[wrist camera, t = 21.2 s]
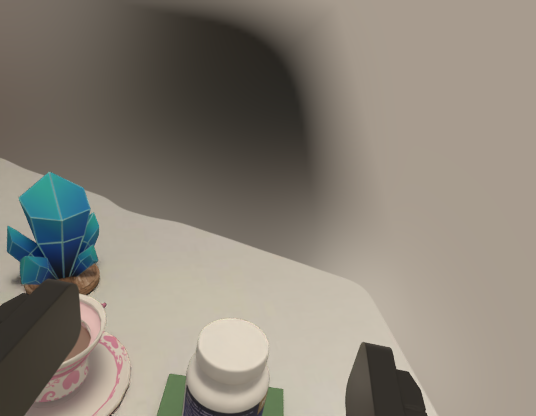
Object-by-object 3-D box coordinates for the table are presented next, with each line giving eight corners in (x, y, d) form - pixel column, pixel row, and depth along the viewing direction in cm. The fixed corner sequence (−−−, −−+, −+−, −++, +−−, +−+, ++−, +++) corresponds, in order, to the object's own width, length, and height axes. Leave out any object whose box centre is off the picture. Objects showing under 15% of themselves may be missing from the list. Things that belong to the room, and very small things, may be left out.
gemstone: (9, 273, 43) (-7, 170, 38) (94, 255, 48) (90, 162, 43) (20, 317, 38) (3, 206, 33) (113, 292, 43) (112, 192, 38)
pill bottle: (264, 468, 29) (289, 372, 25) (184, 486, 27) (195, 386, 23) (244, 398, 34) (263, 308, 29) (175, 410, 32) (183, 314, 28)
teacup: (19, 495, 26) (7, 434, 23) (-70, 389, 31) (-89, 329, 28) (160, 376, 35) (164, 322, 32) (74, 310, 40) (71, 259, 37)
